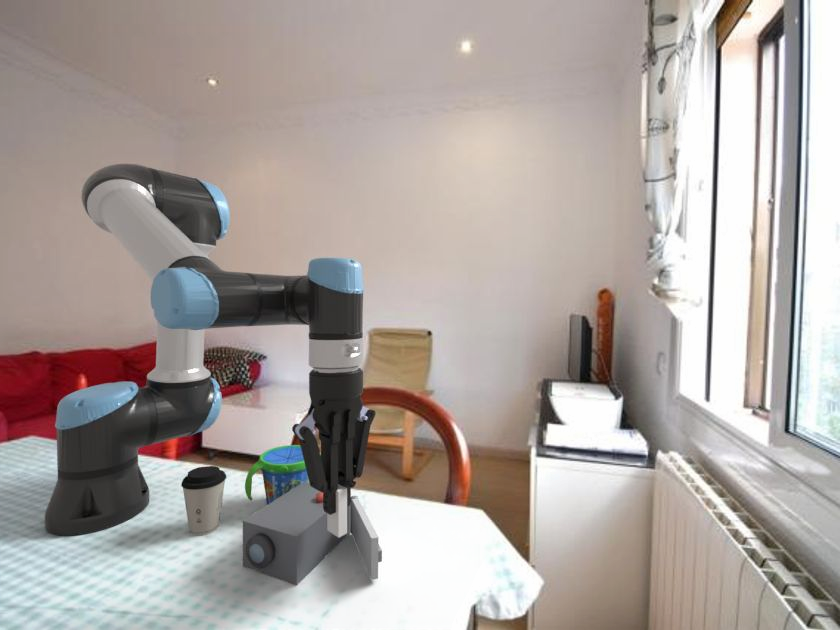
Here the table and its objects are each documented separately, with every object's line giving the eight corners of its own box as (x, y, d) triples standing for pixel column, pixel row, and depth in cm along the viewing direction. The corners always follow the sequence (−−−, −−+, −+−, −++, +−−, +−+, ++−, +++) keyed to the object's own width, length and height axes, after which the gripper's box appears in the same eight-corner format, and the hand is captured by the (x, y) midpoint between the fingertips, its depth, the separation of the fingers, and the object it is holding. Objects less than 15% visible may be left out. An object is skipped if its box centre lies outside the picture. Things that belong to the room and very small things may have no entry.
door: (370, 580, 56) (370, 538, 56) (349, 530, 69) (349, 496, 68) (382, 577, 57) (382, 536, 57) (359, 528, 69) (359, 494, 69)
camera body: (235, 572, 59) (235, 520, 58) (303, 519, 73) (303, 477, 73) (290, 591, 55) (290, 536, 55) (350, 532, 69) (350, 488, 69)
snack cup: (318, 485, 87) (318, 438, 86) (336, 506, 78) (336, 454, 77) (240, 504, 78) (240, 453, 78) (250, 530, 69) (250, 472, 69)
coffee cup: (235, 521, 72) (235, 466, 72) (203, 543, 65) (203, 483, 65) (205, 514, 74) (204, 461, 74) (171, 535, 68) (171, 477, 67)
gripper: (311, 377, 49) (312, 565, 50) (388, 365, 59) (388, 523, 60) (280, 370, 54) (281, 541, 55) (355, 360, 64) (356, 506, 65)
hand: (337, 531), depth 57 cm, fingers closed
